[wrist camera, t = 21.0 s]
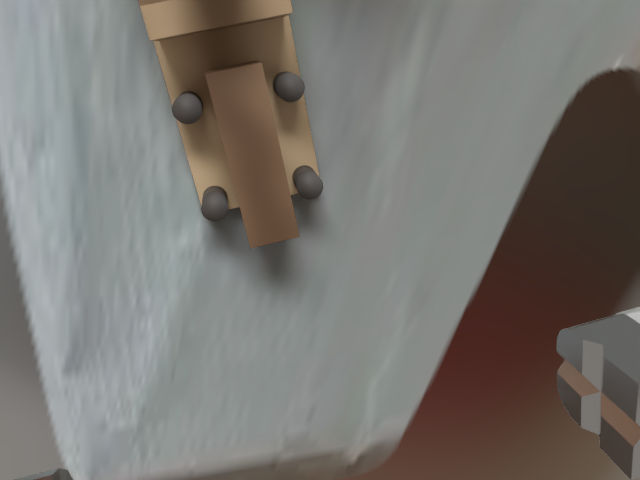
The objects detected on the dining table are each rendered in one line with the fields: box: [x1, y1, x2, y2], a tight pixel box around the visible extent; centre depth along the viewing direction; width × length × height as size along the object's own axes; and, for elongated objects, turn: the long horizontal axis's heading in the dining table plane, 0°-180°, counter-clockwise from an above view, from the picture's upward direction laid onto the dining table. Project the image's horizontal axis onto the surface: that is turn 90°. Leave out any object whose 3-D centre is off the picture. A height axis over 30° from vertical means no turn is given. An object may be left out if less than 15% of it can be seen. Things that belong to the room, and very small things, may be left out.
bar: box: [205, 60, 300, 248], centre depth 30 cm, size 3×10×4 cm, turn 11°
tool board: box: [138, 0, 323, 221], centre depth 29 cm, size 8×18×5 cm, turn 11°
